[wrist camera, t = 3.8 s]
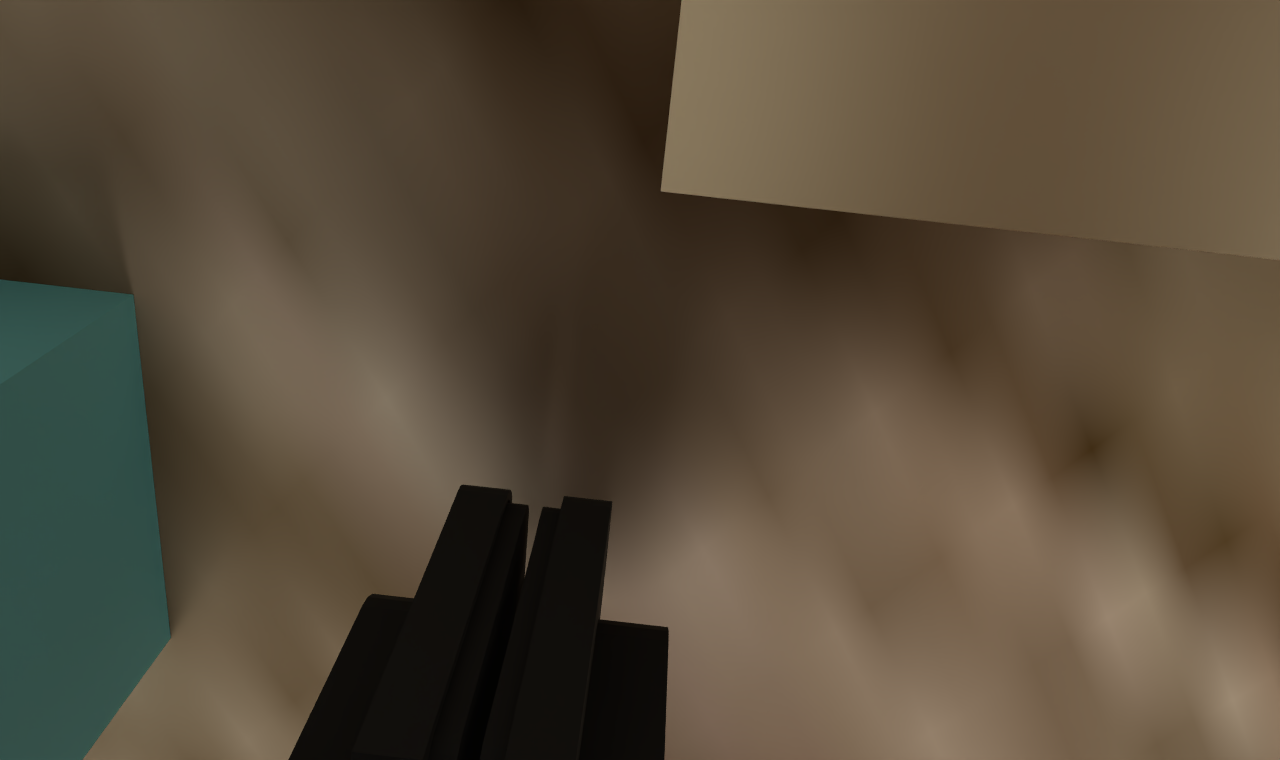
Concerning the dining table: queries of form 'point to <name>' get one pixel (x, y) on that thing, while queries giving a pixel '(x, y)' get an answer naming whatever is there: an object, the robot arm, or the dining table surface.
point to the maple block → (990, 114)
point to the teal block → (73, 519)
